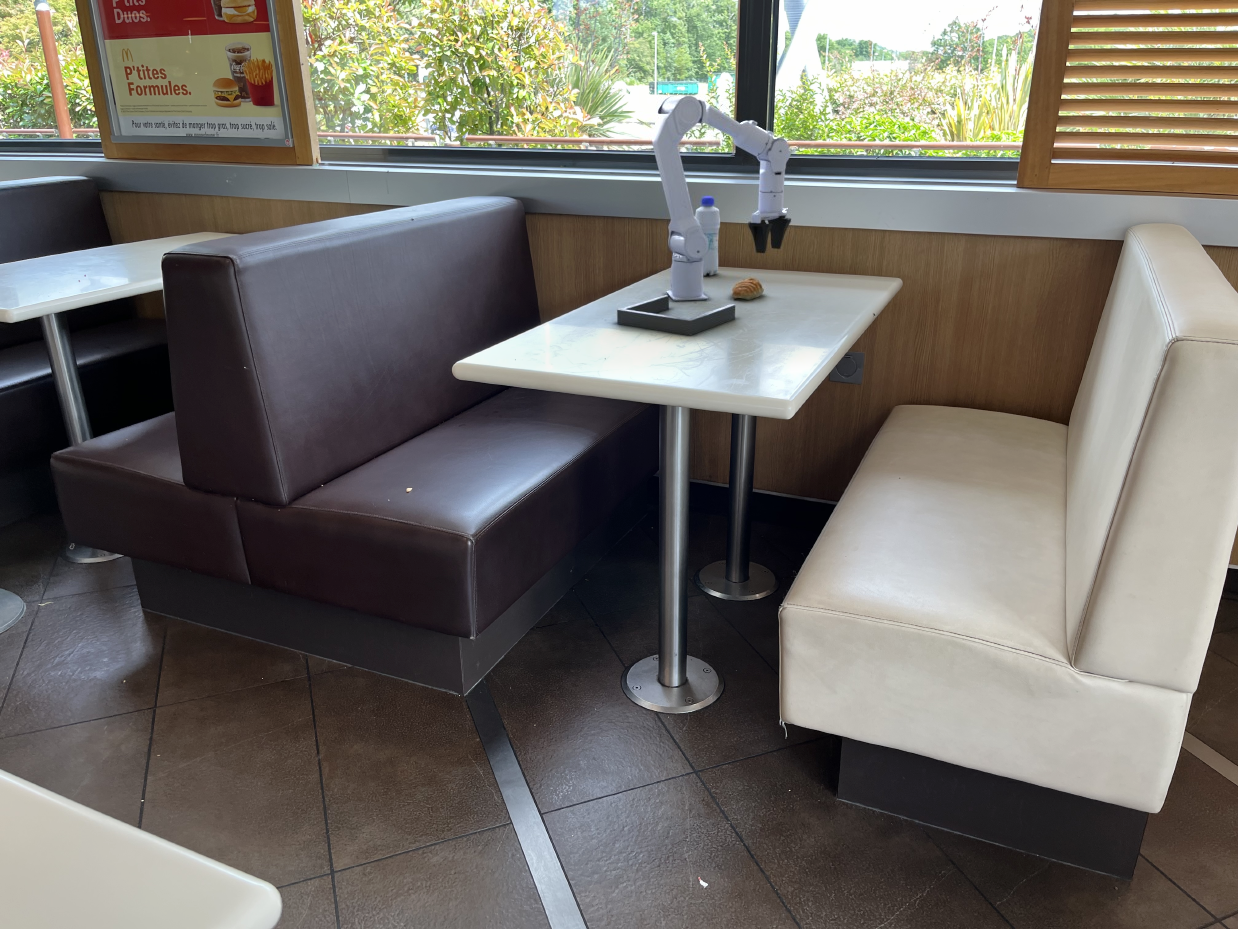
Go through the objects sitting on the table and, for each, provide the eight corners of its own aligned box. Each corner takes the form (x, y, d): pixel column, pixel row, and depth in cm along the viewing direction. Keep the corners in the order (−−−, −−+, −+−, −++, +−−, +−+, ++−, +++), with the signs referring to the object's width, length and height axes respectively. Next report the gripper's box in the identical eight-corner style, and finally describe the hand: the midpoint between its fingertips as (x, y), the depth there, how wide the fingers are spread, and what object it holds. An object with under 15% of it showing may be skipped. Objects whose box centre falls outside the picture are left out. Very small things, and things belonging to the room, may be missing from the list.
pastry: (754, 302, 205) (754, 285, 203) (725, 300, 207) (726, 283, 206) (764, 294, 213) (765, 278, 211) (737, 292, 215) (737, 276, 214)
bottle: (716, 276, 234) (719, 197, 226) (691, 276, 235) (693, 197, 228) (720, 272, 240) (722, 194, 232) (695, 271, 241) (697, 194, 234)
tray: (664, 308, 200) (664, 294, 199) (735, 318, 190) (735, 304, 189) (617, 323, 187) (616, 309, 186) (690, 335, 177) (690, 320, 176)
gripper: (771, 195, 201) (768, 256, 206) (800, 189, 212) (797, 247, 217) (744, 193, 205) (742, 253, 210) (774, 188, 216) (771, 245, 221)
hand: (768, 250), depth 214 cm, fingers open, 7 cm apart
